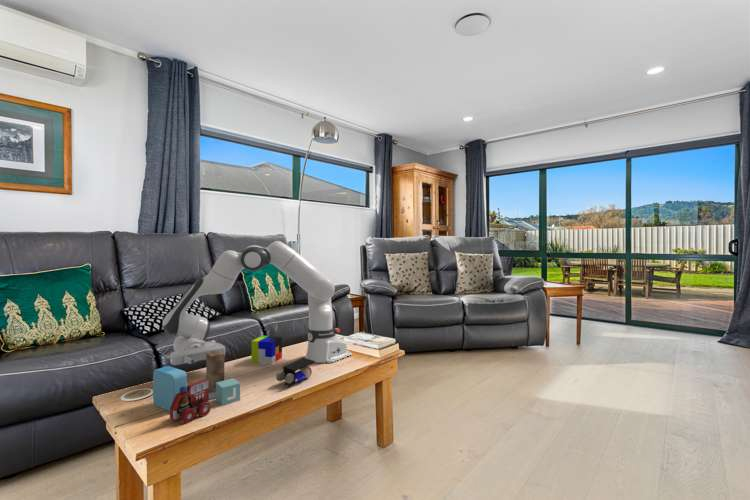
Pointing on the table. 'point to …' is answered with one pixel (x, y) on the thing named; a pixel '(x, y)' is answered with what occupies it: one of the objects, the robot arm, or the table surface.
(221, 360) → the walnut block
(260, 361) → the puzzle toy
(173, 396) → the data package
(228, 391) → the letter cube
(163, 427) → the table surface
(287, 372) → the toy car
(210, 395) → the mat
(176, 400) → the toy fire truck
